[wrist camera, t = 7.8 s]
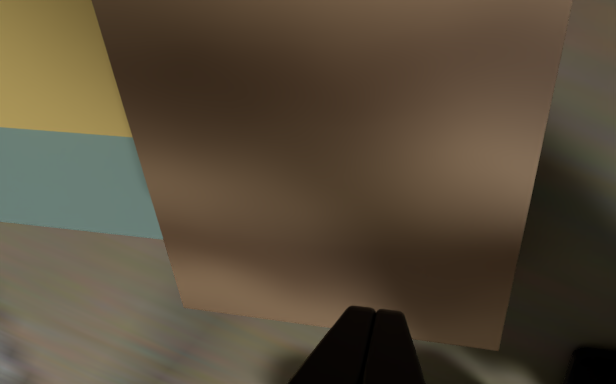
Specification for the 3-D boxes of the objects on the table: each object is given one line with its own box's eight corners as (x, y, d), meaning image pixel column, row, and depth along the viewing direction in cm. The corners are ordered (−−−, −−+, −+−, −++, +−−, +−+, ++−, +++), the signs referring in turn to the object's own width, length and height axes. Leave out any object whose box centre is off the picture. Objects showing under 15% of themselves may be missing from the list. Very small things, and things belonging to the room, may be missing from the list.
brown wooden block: (495, 270, 23) (498, 351, 20) (218, 240, 26) (184, 307, 23) (629, -466, 11) (689, -551, 8) (80, -378, 14) (-35, -416, 10)
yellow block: (166, 110, 21) (142, 138, 20) (-13, 98, 23) (-47, 123, 22) (118, -92, 17) (83, -77, 16) (-97, -88, 19) (-147, -74, 17)
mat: (212, 240, 26) (210, 244, 25) (-28, 214, 29) (-32, 218, 28) (70, -376, 14) (63, -379, 13) (-320, -314, 17) (-332, -315, 16)
